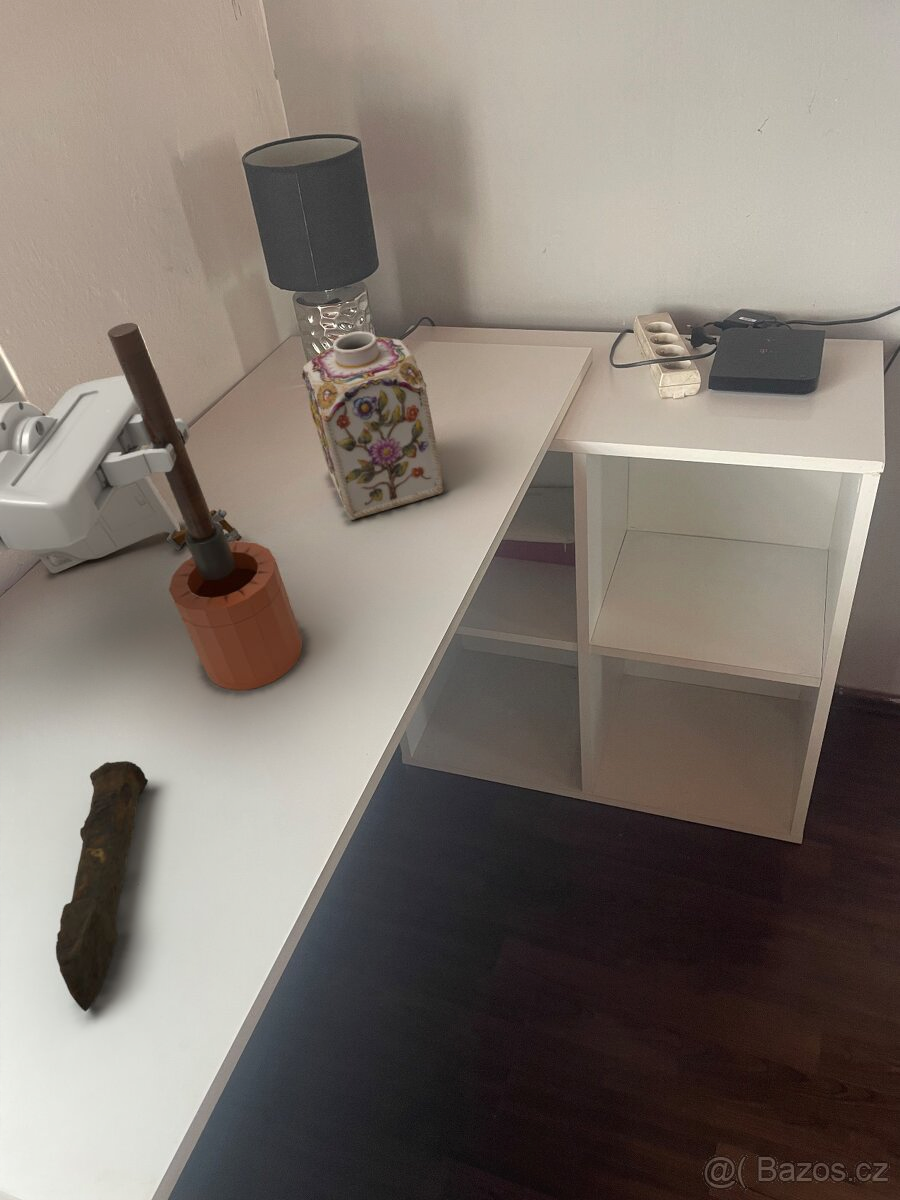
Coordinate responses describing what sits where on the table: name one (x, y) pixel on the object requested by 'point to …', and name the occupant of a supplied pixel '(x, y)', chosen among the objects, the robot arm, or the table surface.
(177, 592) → the terracotta plant pot
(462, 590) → the table surface
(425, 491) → the decorative jar
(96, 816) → the hand tool
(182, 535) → the wooden post with brackets
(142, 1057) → the table surface
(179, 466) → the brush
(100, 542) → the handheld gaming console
